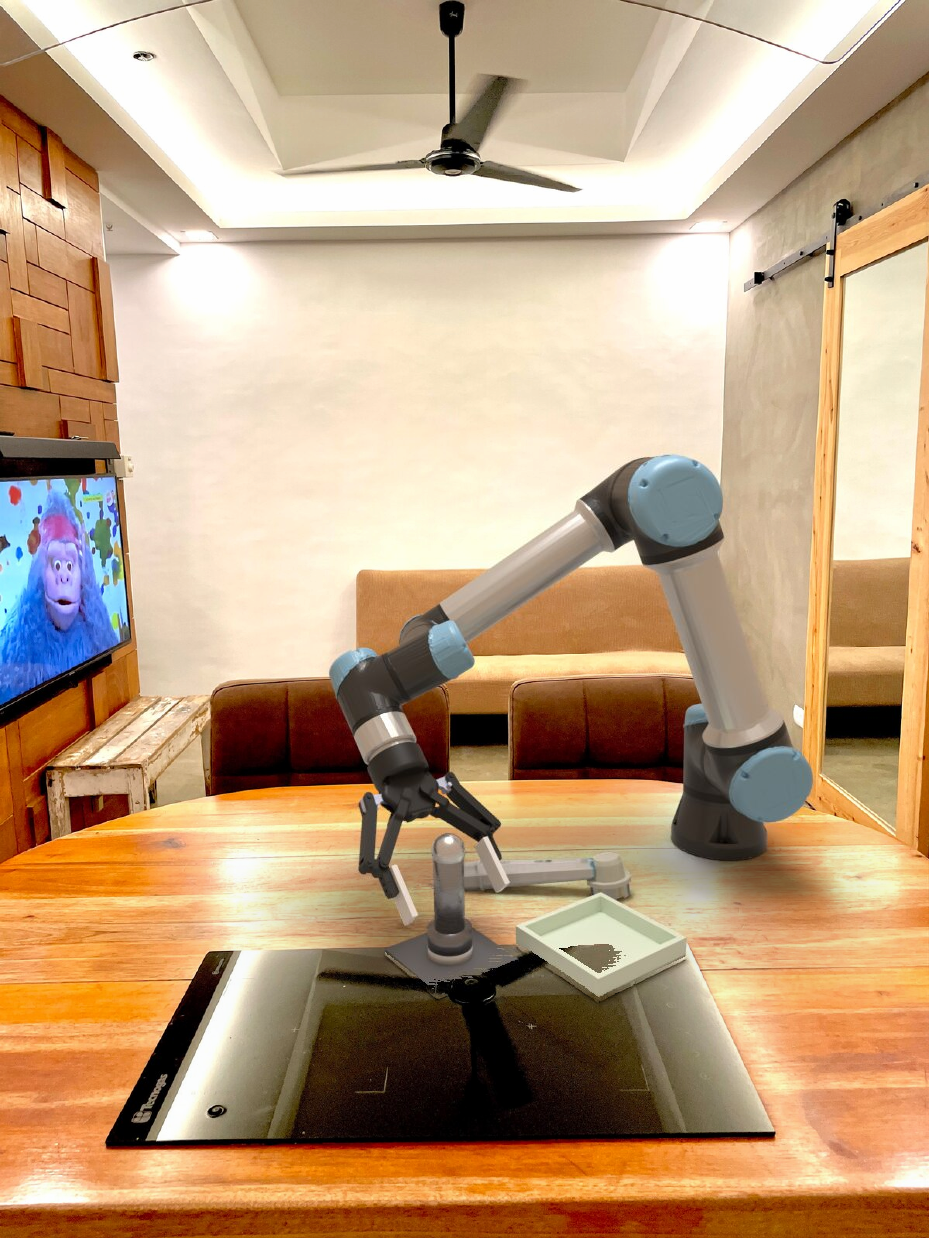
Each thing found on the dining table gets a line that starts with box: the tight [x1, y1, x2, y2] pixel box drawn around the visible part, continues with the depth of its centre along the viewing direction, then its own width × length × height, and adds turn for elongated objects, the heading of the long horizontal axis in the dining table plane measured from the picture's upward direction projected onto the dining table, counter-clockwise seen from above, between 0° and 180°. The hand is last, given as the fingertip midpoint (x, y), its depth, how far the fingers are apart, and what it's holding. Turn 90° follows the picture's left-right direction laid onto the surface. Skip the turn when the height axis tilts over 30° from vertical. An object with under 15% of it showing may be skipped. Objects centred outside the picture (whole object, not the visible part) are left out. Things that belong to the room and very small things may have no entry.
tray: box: [515, 892, 687, 997], centre depth 110 cm, size 15×15×3 cm
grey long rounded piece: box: [464, 851, 632, 901], centre depth 127 cm, size 5×7×25 cm
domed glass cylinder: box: [426, 832, 473, 957], centre depth 108 cm, size 6×6×14 cm
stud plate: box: [384, 926, 519, 989], centre depth 109 cm, size 12×12×2 cm
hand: (458, 903), depth 106 cm, fingers open, 13 cm apart
